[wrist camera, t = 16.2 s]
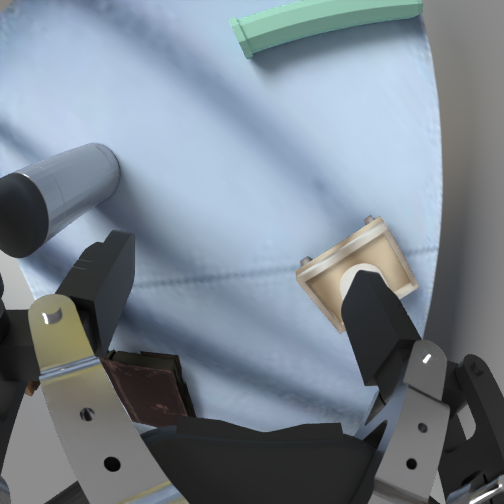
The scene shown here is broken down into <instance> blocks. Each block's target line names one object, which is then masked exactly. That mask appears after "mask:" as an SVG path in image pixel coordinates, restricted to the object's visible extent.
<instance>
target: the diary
mask: <svg viewBox="0 0 504 504" xmlns="http://www.w3.org/2000/svg"><path fill="white" fill-rule="evenodd" d="M113 349H114V348H113ZM140 352H141V354H137V353H129V352H123V351H118V352H117V353H116V352H115V350H112V351H110V352H109V351H107V353H106V356H105V359H104V358H100V357H99V360H100V362H101V364H102V366H103V368H104V369H105V371H106V373H107V375H108V377H109V379H110V381H111V383H112V385H113V387H114V389H115V391H116V393H117V395H118V397H119V399H120V400H121V402H122V403H123V405H124V407H125V408H126V410H127V412H128V414H129V416H130V418H131V420H132V422H137V423H141V424H145V425H150V426H153V427H157V428H161V427H167V426H177V419H178V415H182V416H189V417H196V415H195V411H194V408H193V405H192V402H191V399H190V396H189V393H188V389H187V385H186V382H185V384H184V382H183V379H182V370H181V365H180V361H179V357H178V355H170V354H160V353H151V352H143V351H140Z"/></svg>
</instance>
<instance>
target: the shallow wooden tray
mask: <svg viewBox="0 0 504 504" xmlns="http://www.w3.org/2000/svg"><path fill="white" fill-rule="evenodd" d="M364 221H365V222H366V224H367V225H366V226H364V227H363V228H361V229H360V230H358V231H357V232H355V233H354V234H352V235H351V236H349V237H348V238H346V239H345V240H343V241H341V242H340V243H338V244H337V245H335V246H334V247H332V248H331V249H329V250H328V251H326V252H324V253H323V254H321V255H320V256H318V257H317V258H315V259H313V260H311V258H310V257H308V256H307V257H306V258H304V259H303V260H301V261H300V263H301V266H302V267H301V268H299V269H298V270H296V281H297V282H298V284H299V285H300V286H301V287H302V288H303V290H304V291H305V292H306V293H307V294H308V296H309V297H310V298H311V299H312V300H313V302H314V303H315V304H316V305H317V306H318V308H319V309H320V310H321V311H322V313H323V314H324V315H325V316H326V317H327V319H328V320H329V321H330V322H331V323H332V325H333V326H334V327H335V328H336V329H337V331H338V332H339V333H340V334H341V333H343V332H344V331H346V328H345V326H344V323H343V320H342V317H341V306H342V303H343V299H342V296H341V292H340V280H341V278H342V276H343V274H344V273H345V272H346V271H347V270H348V269H349V268H351V267H352V266H355V265H357V264H362V263H368V264H372V265H374V266H376V267H377V268H379V269H380V271H381V272H382V274H383V276H384V278H385V280H386V282H387V284H388V286H389V288H390V289H391V290H392V291H393V292H394V293H395V294H396V295H397V296H398V298H399V300H400V299H401V298H403V297H404V296H406V295H408V294H409V293H411V292H412V291H414V290H416V289H417V288H419V285H418V283H417V281H416V279H415V277H414V275H413V273H412V271H411V269H410V267H409V265H408V263H407V261H406V260H405V258H404V256H403V254H402V252H401V250H400V248H399V247H398V245H397V243H396V241H395V239H394V237H393V236H392V234H391V232H390V230H389V229H388V227H387V225H386V224H385V222H384V221H383V220H382V218H381V217H380V216H379V217H378V218H376V219H375V220H374V219H373V217H372V216H371V215H370V216H369V217H367V218H366V219H364Z"/></svg>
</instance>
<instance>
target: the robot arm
mask: <svg viewBox="0 0 504 504" xmlns="http://www.w3.org/2000/svg"><path fill="white" fill-rule="evenodd" d="M119 176H120V172H119V166H118V162H117V160H116V157H115V156H114V154H113V153H112V152H111V151H110V150H109V149H108V148H107V147H105V146H104V145H101V144H98V143H91V144H86V145H83V146H80V147H77V148H74V149H71V150H68V151H66V152H63V153H60V154H57V155H55V156H52V157H49V158H47V159H44V160H42V161H39V162H36V163H34V164H32V165H29V166H27V167H25V168H22V169H20V170H18V171H15V172H13V173H11V174H8V175H6V176H4V177H2V178H0V250H2V251H3V252H4V253H6V254H7V255H9V256H11V257H14V258H24V257H27V256H29V255H30V254H32V253H33V252H35V251H36V250H37V249H38V248H40V247H41V246H42V245H43V244H45V243H46V242H47V241H48V240H50V239H51V238H52V237H54V236H55V235H56V234H57V233H59V232H60V231H61V230H63V229H64V228H65V227H67V226H68V225H69V224H71V223H72V222H73V221H75V220H76V219H78V218H79V217H80V216H82V215H83V214H85V213H86V212H87V211H89V210H90V209H92V208H93V207H95V206H96V205H98V204H99V203H101V202H102V201H103V200H105V199H106V198H108V197H109V196H111V195H112V194H113V193H114V191H115V190H116V188H117V186H118V182H119ZM134 276H135V235H134V233H130V232H124V231H118V230H112V231H111V233H110V234H109V236H108V237H107V238H106V240H105V241H104V243H101V242H96V243H94V244H92V245H91V246H89V247H88V248H86V249H85V250H84V252H83V253H82V254H81V256H80V257H79V260H77V261H76V263H75V264H74V267H72V269H71V270H70V271H69V273H68V274H67V276H66V277H65V279H64V280H63V282H62V283H61V285H60V286H59V288H58V289H57V291H56V292H55V294H49V295H45V296H43V297H40V298H39V299H37V300H36V301H35V302H34V303H33V304H32V305H31V307H30V308H29V309H28V310H6V309H5V306H4V303H3V301H2V299H1V298H2V295H3V292H4V284H3V280H2V277H1V274H0V504H11V499H10V491H9V488H8V486H7V483H6V482H5V480H4V479H3V477H2V476H1V471H2V467H3V463H4V459H5V454H6V451H7V447H8V443H9V439H10V436H11V433H12V429H13V426H14V423H15V419H16V416H17V413H18V410H19V407H20V404H21V401H22V398H23V395H24V393H25V390H26V387H27V384H28V382H29V381H40V384H41V388H42V391H43V394H44V397H45V401H46V404H47V407H48V410H49V413H50V415H51V418H52V421H53V423H54V426H55V429H56V432H57V434H58V437H59V440H60V442H61V444H62V447H63V449H64V451H65V454H66V456H67V458H68V461H69V463H70V465H71V467H72V469H73V471H74V473H75V476H76V478H77V481H76V482H75V483H73V484H72V485H71V486H69V487H68V488H66V489H65V490H63V491H62V492H60V493H59V494H58V495H56V496H55V497H53V498H52V499H51V500H49V501H47V502H46V503H44V504H440V503H438V502H437V501H436V500H435V499H433V498H432V497H431V496H430V492H431V489H432V486H433V483H434V479H435V476H436V472H437V469H438V472H439V475H440V479H441V484H442V488H443V492H444V497H445V501H446V504H504V397H503V395H502V393H501V391H500V389H499V387H498V385H497V383H496V381H495V379H494V377H493V375H492V373H491V371H490V369H489V367H488V366H487V364H486V363H485V362H484V361H483V360H482V359H481V358H479V357H478V356H476V355H473V354H468V355H466V356H465V357H464V359H463V360H462V361H461V362H460V364H458V363H454V362H451V361H447V359H446V356H445V354H444V353H443V351H442V350H441V349H440V348H439V347H438V346H437V345H436V344H434V343H432V342H430V341H427V340H422V339H421V337H420V335H419V333H418V332H417V330H416V328H415V326H414V324H413V323H412V321H411V319H410V317H409V315H407V312H406V310H405V308H404V307H403V305H402V303H401V301H400V300H399V298H398V296H397V295H396V294H395V293H394V292H393V291H392V290H391V289H390V288H389V287H387V285H386V283H385V282H384V280H383V278H382V277H381V275H380V274H379V273H378V272H373V271H366V270H359V271H358V272H357V273H356V275H355V277H354V279H353V281H352V283H351V285H350V288H349V290H348V292H347V294H346V296H345V298H344V300H343V303H342V306H341V317H342V320H343V323H344V326H345V328H346V331H347V334H348V337H349V340H350V343H351V346H352V348H353V351H354V354H355V357H356V360H357V363H358V366H359V369H360V372H361V375H362V378H363V381H364V385H365V386H378V387H379V390H378V391H377V392H376V393H375V395H374V397H373V399H372V401H371V404H370V406H369V408H368V410H367V412H366V415H365V417H364V419H363V421H362V423H361V425H360V427H359V429H358V431H357V433H356V434H355V436H350V435H347V434H343V431H342V427H341V423H320V424H302V425H298V426H294V427H290V428H285V429H281V430H276V431H272V432H259V431H256V430H252V429H248V428H245V427H241V426H238V425H235V424H231V423H228V422H225V421H222V420H214V419H205V418H196V417H189V416H182V415H178V419H177V426H167V427H161V428H157V429H153V430H150V431H147V432H145V433H143V434H140V435H139V434H138V432H137V430H136V428H135V427H134V425H133V423H132V422H131V420H130V418H129V416H128V415H127V413H126V411H125V409H124V407H123V405H122V404H121V402H120V400H119V398H118V396H117V394H116V392H115V390H114V388H113V386H112V384H111V382H110V380H109V378H108V376H107V374H106V372H105V370H104V368H103V366H102V364H101V362H100V360H99V358H98V357H100V358H104V359H105V356H106V353H107V351H108V348H109V345H110V342H111V340H112V337H113V334H114V332H115V329H116V326H117V324H118V321H119V319H120V316H121V314H122V311H123V309H124V306H125V304H126V301H127V299H128V296H129V294H130V291H131V289H132V286H133V282H134ZM95 356H96V357H95ZM467 404H468V405H469V408H470V410H471V413H472V415H473V418H474V420H475V423H476V430H475V433H474V435H473V436H472V437H471V438H470V439H468V440H466V437H465V434H464V431H463V428H462V426H461V423H460V420H459V418H458V415H457V413H459V412H460V411H461V410H462V409H463V408H464V407H465V406H466V405H467Z"/></svg>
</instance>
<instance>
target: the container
mask: <svg viewBox="0 0 504 504" xmlns="http://www.w3.org/2000/svg"><path fill="white" fill-rule="evenodd" d="M422 12H423V3H422V0H302V1H297V2H293V3H290V4H286V5H282V6H279V7H275V8H272V9H268V10H265V11H262V12H259V13H255V14H252V15H249V16H246V17H243V18H241V19H238V20H237V19H236V17H233V18H231V19H229V21H230V24H231V26H232V28H233V30H234V33H235V35H236V37H237V39H238V41H239V44H240V46H241V48H242V50H243V52H244V55H245V57H246V58H247V59H249V58H252V57H253V55H252V54H253V53H256V52H259V51H262V50H265V49H268V48H271V47H274V46H277V45H280V44H284V43H287V42H290V41H294V40H297V39H301V38H305V37H309V36H313V35H317V34H321V33H325V32H329V31H334V30H338V29H343V28H348V27H353V26H359V25H364V24H370V23H377V22H384V21H391V20H400V19H409V18H414V17H415V16H417V15H419V14H420V13H422Z"/></svg>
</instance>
